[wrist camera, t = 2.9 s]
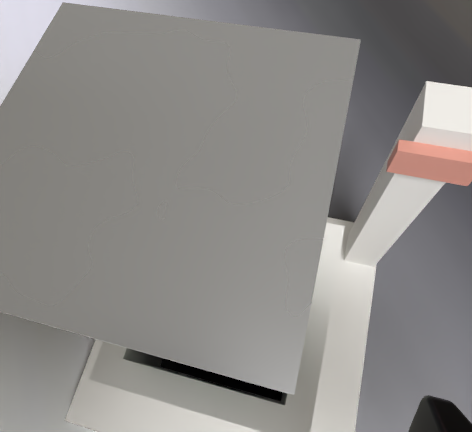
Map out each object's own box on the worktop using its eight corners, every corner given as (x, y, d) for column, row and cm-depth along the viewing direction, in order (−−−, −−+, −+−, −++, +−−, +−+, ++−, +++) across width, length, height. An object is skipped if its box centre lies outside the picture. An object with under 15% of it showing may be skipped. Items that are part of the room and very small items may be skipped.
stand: (346, 507, 14) (498, 740, 5) (74, 419, 16) (-203, 461, 6) (381, 235, 18) (501, 70, 9) (159, 189, 19) (63, 13, 10)
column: (274, 390, 15) (294, 395, 4) (167, 360, 16) (-106, 282, 4) (297, 281, 17) (360, 39, 5) (199, 258, 18) (63, 1, 6)
